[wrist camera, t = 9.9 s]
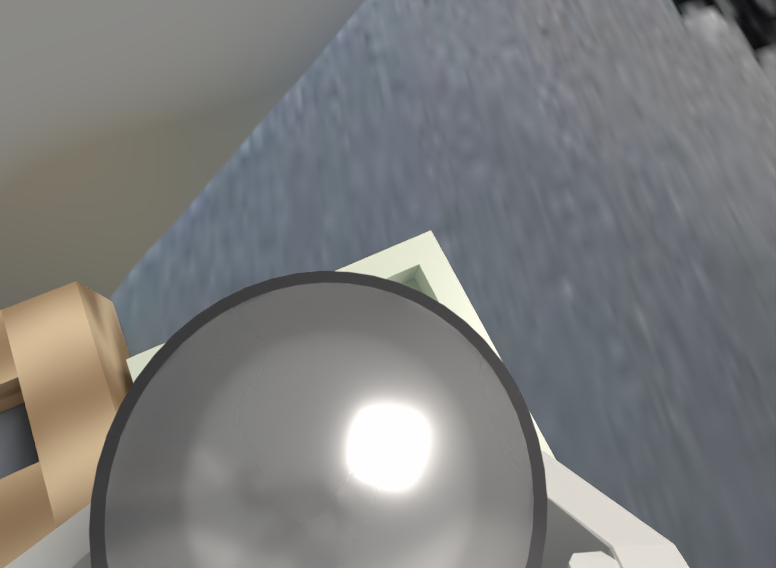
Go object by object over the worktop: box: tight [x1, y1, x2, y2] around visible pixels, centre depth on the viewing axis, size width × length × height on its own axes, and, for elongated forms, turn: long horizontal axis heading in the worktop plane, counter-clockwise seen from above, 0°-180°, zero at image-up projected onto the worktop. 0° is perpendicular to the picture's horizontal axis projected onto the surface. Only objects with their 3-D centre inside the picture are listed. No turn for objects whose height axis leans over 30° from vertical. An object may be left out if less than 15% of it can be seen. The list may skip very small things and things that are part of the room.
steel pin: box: [89, 271, 547, 568], centre depth 10 cm, size 3×3×14 cm
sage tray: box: [126, 231, 556, 460], centre depth 26 cm, size 18×18×4 cm
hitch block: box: [0, 281, 133, 568], centre depth 25 cm, size 12×12×4 cm
